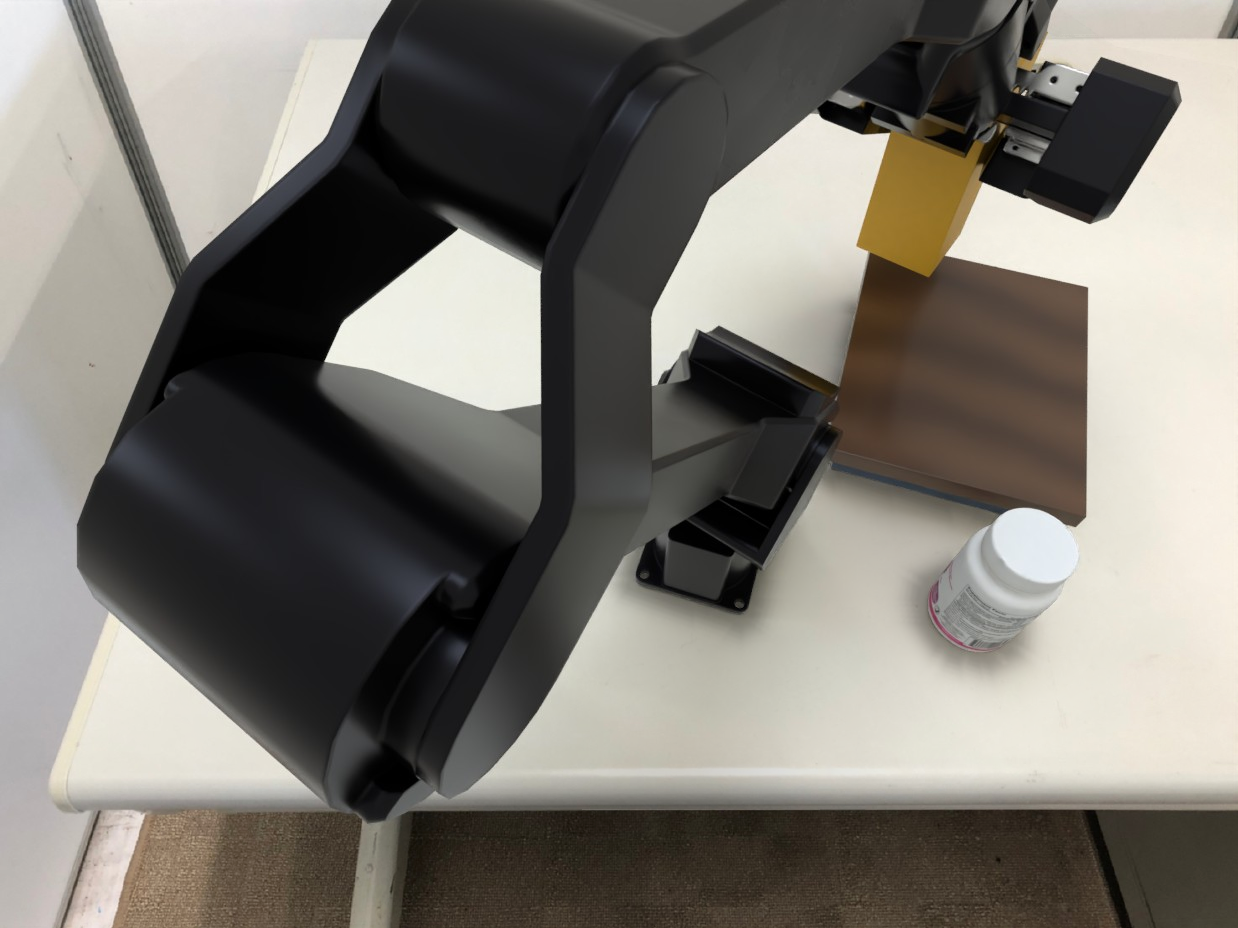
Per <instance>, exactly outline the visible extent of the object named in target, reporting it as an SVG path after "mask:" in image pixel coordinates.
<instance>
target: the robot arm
mask: <svg viewBox="0 0 1238 928" xmlns="http://www.w3.org/2000/svg"><path fill="white" fill-rule="evenodd" d="M1058 1H1059V0H390V1H389V3H388V5H387V6H386V7H385V9H384V11H383V12H382V14H381V16H380V17H379V19H378V21H377V22H376V23H375V25H374V27H373V29H372V30H371V31H370V34H369V36H368V38H367V40H366V43H365V45H364V47H363V50H362V52H361V55H360V57H359V59H358V62H357V64H356V67H355V69H354V71H353V73H352V76H351V78H350V81H349V83H348V85H347V87H346V90H345V92H344V94H343V96H342V99H341V101H340V103H339V106H338V107H337V111H336V113H335V115H334V117H333V120H332V122H331V125H330V127H329V129H328V131H327V134H326V135H325V137H324V138H323V139H322V141H321V142H319V143H318V145H316V146H315V147H314V148H312V150H311V151H310V152H309V153H308V154H306V155H305V156H304V157H303V158H302V159H301V160H299V162H297V163H296V164H295V165H294V166H293V167H291V169H290V170H289V171H288V172H286V173H285V174H284V175H283V176H282V177H281V178H280V179H278V181H276V182H275V183H274V184H273V185H272V186H271V187H270V188H268V189H267V191H265V192H264V193H263V194H262V195H260V197H258V198H257V199H256V200H255V201H254V202H253V203H252V204H251V205H250V206H249V207H248V208H246V209H245V210H244V211H243V212H242V213H241V214H239V216H237V217H236V218H235V219H234V220H233V221H232V222H231V223H230V224H228V226H227V227H225V229H223V230H222V231H221V232H220V233H219V234H218V235H216V237H214V238H213V239H212V240H211V241H210V242H209V243H208V244H207V245H206V246H205V247H203V248H202V249H201V250H200V251H199V252H198V253H197V254H195V255H194V256H193V257H192V258H191V260H190V262H189V263H188V265H187V266H186V267H185V269H184V270H183V272H182V273H181V274H180V276H179V279H178V281H177V284H176V287H175V289H174V290H173V291H174V292H173V293H172V296H171V299H170V301H169V303H168V306H167V309H166V310H165V313H164V315H163V319H162V321H161V323H160V324H159V328H158V330H157V333H156V335H155V338H154V340H153V342H152V345H151V347H150V349H149V352H148V355H147V357H146V360H145V362H144V365H143V367H142V369H141V371H140V374H139V377H138V379H137V382H136V383H135V386H134V388H133V392H132V394H131V396H130V399H129V401H128V404H127V406H126V409H125V410H124V413H123V416H122V418H121V421H120V422H119V425H118V428H117V430H116V433H115V436H114V438H113V440H112V442H111V445H110V447H109V450H108V452H107V455H106V457H105V460H104V463H103V465H102V466H101V467H100V469H99V470H98V471H97V473H96V474H95V476H94V477H93V480H92V483H91V485H90V489H89V491H88V494H87V497H86V499H85V502H84V505H83V507H82V510H81V512H80V514H79V518H78V520H77V523H76V568H77V570H78V572H79V574H80V575H81V577H82V580H83V581H84V582H85V585H86V587H87V588H88V590H89V592H90V593H91V596H92V598H93V599H94V600H95V601H97V602H98V603H99V604H100V605H101V606H102V607H103V608H105V609H106V610H107V611H108V612H109V614H111V615H112V616H114V618H116V619H117V620H118V621H119V622H120V623H121V624H122V625H124V626H125V627H126V628H127V629H128V630H129V631H130V632H132V633H133V634H134V635H135V636H136V637H137V638H138V639H139V640H141V642H143V643H144V644H145V645H146V646H147V647H148V648H150V649H151V650H152V651H153V652H154V653H155V654H156V655H157V656H159V657H160V658H161V660H163V661H164V662H165V663H166V664H168V665H169V666H170V667H171V668H172V669H173V670H175V672H176V673H178V674H179V675H180V676H181V677H182V678H183V679H184V680H186V682H188V683H189V684H190V685H191V686H192V687H194V689H196V690H197V691H198V692H199V693H200V694H201V695H202V696H203V697H204V698H205V699H207V700H208V701H209V702H211V704H213V705H214V706H215V707H216V708H217V709H218V710H220V711H221V713H223V714H224V715H225V716H226V717H227V718H228V719H230V720H231V721H232V722H233V723H234V724H235V725H236V726H237V727H239V728H240V729H241V730H242V731H243V732H244V733H245V734H246V735H248V736H249V737H250V738H251V739H252V740H253V741H254V742H256V743H257V744H258V745H259V746H260V747H261V748H262V749H264V750H265V751H266V753H268V754H269V755H270V756H271V757H273V758H274V759H275V761H277V762H278V763H279V764H280V765H281V766H283V767H284V768H285V769H286V770H287V771H288V772H289V773H290V774H291V775H293V776H294V777H295V778H296V779H297V781H300V783H302V784H303V785H304V787H306V788H307V789H309V790H310V791H311V792H312V793H313V794H314V795H315V796H316V797H317V798H318V799H320V800H321V801H322V802H323V803H324V804H326V806H327V807H329V808H330V809H333V810H335V811H338V812H342V813H344V814H347V815H353V814H355V815H356V816H357V817H359V818H360V819H361V820H362V821H364V823H366V824H367V825H375V824H379V823H384V822H385V823H386V822H388V821H390V820H393V819H395V818H398V817H399V816H402V815H405V814H406V813H407V812H409V811H410V810H412V809H413V808H415V807H417V806H418V805H419V804H421V803H422V802H423V801H426V800H427V799H428V798H429V797H430V796H431V795H433V794H434V792H436V793H437V794H438V795H440V796H442V797H443V798H445V799H447V800H450V799H452V798H455V797H457V796H459V795H461V794H463V793H465V792H467V791H468V790H469V789H471V788H472V787H473V786H474V785H475V784H476V783H477V782H479V781H480V780H481V779H482V778H483V777H484V776H485V775H487V774H488V773H489V772H490V771H492V769H493V768H494V767H495V766H496V765H497V764H498V762H499V761H500V760H501V759H502V758H503V757H504V755H505V754H506V753H507V752H508V751H509V750H510V749H511V748H512V747H513V745H514V744H515V743H516V742H517V741H518V740H519V737H521V735H522V733H523V732H524V731H525V729H526V728H527V726H528V725H529V724H530V723H531V721H532V720H533V719H534V717H535V716H536V715H537V713H538V712H539V710H540V708H541V707H542V705H543V704H544V702H545V700H546V698H547V697H548V696H549V694H550V692H551V691H552V689H553V687H554V685H555V684H556V682H557V681H558V679H559V677H560V675H561V674H562V671H563V669H564V668H565V666H566V664H567V662H568V661H569V659H570V656H571V654H573V652H574V650H575V648H576V645H577V644H578V642H579V640H580V638H581V637H582V634H583V633H584V631H585V630H586V628H587V625H588V624H589V622H590V620H591V618H592V616H593V614H594V613H595V611H596V609H597V608H598V605H599V604H600V601H601V600H602V598H603V596H604V594H605V593H606V591H607V589H608V587H609V585H610V583H611V582H612V579H613V577H614V576H615V574H616V572H617V570H618V568H619V566H620V565H621V563H622V561H623V559H624V558H625V557H626V556H628V555H629V554H631V553H633V552H634V551H636V550H637V549H639V548H641V547H643V546H644V547H643V549H642V553H641V556H640V559H639V561H638V563H637V567H636V570H635V575H634V576H635V577H634V578H635V581H636V582H637V584H639V585H640V586H643V587H647V588H650V589H653V590H656V591H659V592H662V593H666V594H670V595H673V596H675V597H679V598H683V599H686V600H689V601H692V602H696V603H699V604H702V605H705V606H709V607H712V608H714V609H718V610H722V611H725V612H728V613H731V614H735V615H744V614H745V613H747V610H748V609H749V606H750V602H751V598H752V594H753V590H754V586H755V583H756V578H757V574H758V571H761V572H765V570H766V569H767V567H768V566H769V565H770V563H771V561H772V560H773V559H774V557H775V555H776V554H777V553H778V551H779V549H780V548H781V546H782V545H783V544H784V542H785V541H786V539H787V538H788V536H789V535H790V533H791V532H792V530H793V528H794V527H795V526H796V525H797V522H798V521H799V520H800V519H801V517H802V515H803V514H804V513H805V510H806V509H807V508H808V506H809V505H810V502H811V501H812V498H813V496H814V494H815V492H816V490H817V488H818V486H819V484H820V482H821V480H822V479H823V476H824V474H825V472H826V470H827V469H828V467H829V464H831V462H830V461H831V459H832V457H833V455H834V453H835V451H836V449H837V447H838V445H839V443H840V440H841V438H842V435H843V431H842V430H840V429H838V428H837V427H835V426H832V425H830V424H829V422H832V421H834V419H835V418H836V416H837V415H838V413H839V411H840V406H839V403H838V401H836V400H835V398H836V397H837V395H838V393H839V392H840V390H841V387H839V386H838V384H835V383H833V382H831V381H829V380H828V379H825V378H823V377H821V376H819V375H817V374H816V373H814V372H811V371H810V370H807V369H805V368H804V367H801V366H800V365H797V364H796V363H794V362H792V361H790V360H788V359H786V358H784V357H782V356H780V355H778V354H776V353H774V352H772V351H770V350H768V349H766V348H764V347H763V346H760V345H758V344H756V343H755V342H753V341H750V340H748V339H747V338H745V337H743V336H742V335H741V336H740V335H739V334H737V333H735V332H733V331H731V330H730V329H727V328H726V327H723V326H721V325H717V326H716V327H714V328H713V329H712V330H709V331H707V332H705V331H702V330H701V329H699V328H695V330H694V332H693V335H692V338H691V341H690V342H689V346H688V348H687V349H684V350H682V351H681V352H680V353H679V355H678V358H677V359H676V360H675V362H674V363H673V364H672V365H671V367H670V368H669V369H666V370H664V371H663V372H662V374H661V375H660V378H659V379H658V382H657V384H654V385H653V365H652V364H653V363H652V362H653V360H652V359H653V358H652V357H653V356H652V353H653V351H652V350H653V348H652V347H653V345H652V344H653V343H652V339H653V338H652V317H653V314H654V310H655V308H656V306H657V304H658V302H659V300H660V298H661V296H662V294H663V293H664V291H665V289H666V288H667V285H668V283H669V281H670V279H671V278H672V275H673V273H674V271H675V269H676V268H677V265H678V264H679V262H680V260H681V258H682V257H683V254H684V252H685V251H686V248H687V246H688V245H689V243H690V240H691V239H692V238H693V234H695V231H696V229H697V227H698V226H699V223H700V221H701V218H702V216H703V213H704V212H705V209H706V207H707V205H708V203H709V200H710V199H711V197H712V196H713V195H715V193H717V192H718V191H719V190H721V189H722V188H723V187H724V186H725V185H726V184H727V183H729V182H730V181H731V180H733V178H735V177H736V176H737V175H739V174H740V173H741V172H742V171H743V170H745V169H746V168H747V167H748V166H749V165H751V164H752V163H753V162H754V161H755V160H757V159H758V158H759V157H760V156H761V155H763V154H764V153H765V152H766V151H768V149H770V148H772V146H774V145H775V144H776V143H777V142H778V141H779V140H780V139H782V138H784V136H785V135H786V134H788V133H789V132H790V131H791V130H793V129H794V128H795V127H796V126H797V125H799V124H800V123H801V122H802V121H804V120H805V119H806V118H807V117H808V116H810V115H819V117H820V118H821V119H822V120H823V121H826V122H829V123H831V124H834V125H836V126H838V127H841V128H844V129H847V130H849V131H851V132H854V133H856V134H859V135H861V136H867V135H869V136H870V135H882V134H890V132H891V130H893V131H895V132H898V133H900V134H903V135H906V136H908V137H911V138H913V139H916V140H918V141H921V142H924V143H926V144H929V145H931V146H934V147H936V148H939V149H942V150H944V151H947V152H949V153H952V154H954V155H957V156H960V157H962V158H966V156H967V154H968V152H969V151H970V149H971V147H972V145H973V143H974V142H975V141H976V142H979V143H982V144H987V143H989V142H990V141H991V140H992V138H993V136H994V134H995V133H996V130H997V124H998V123H997V122H999V123H1002V124H1005V127H1004V128H1003V130H1002V131H1001V133H1000V135H999V137H998V138H997V140H996V142H995V144H994V146H993V147H992V149H991V151H990V153H989V154H988V156H987V158H986V160H985V162H984V163H983V166H982V170H981V173H980V177H979V181H980V182H982V184H985V185H988V186H989V187H993V188H996V189H997V190H1001V191H1002V192H1005V193H1008V194H1009V195H1010V194H1011V195H1014V196H1015V197H1017V198H1020V199H1024V200H1031V201H1033V202H1034V203H1036V204H1037V205H1039V206H1042V207H1045V208H1047V209H1050V210H1052V211H1054V212H1057V213H1060V214H1063V215H1064V216H1067V217H1070V218H1072V219H1075V220H1077V221H1080V222H1083V223H1085V224H1088V225H1092V224H1096V223H1098V222H1101V221H1104V220H1107V219H1110V217H1111V216H1112V215H1113V213H1114V212H1115V211H1116V209H1117V208H1118V207H1119V205H1120V203H1121V202H1122V200H1123V198H1124V197H1125V195H1126V194H1127V192H1128V190H1129V189H1130V188H1131V186H1132V184H1133V183H1134V181H1135V179H1136V178H1137V176H1138V174H1139V173H1140V171H1141V169H1142V168H1143V166H1144V165H1145V163H1146V161H1147V160H1148V158H1149V156H1150V155H1151V153H1152V152H1153V150H1154V148H1155V147H1156V146H1157V143H1158V142H1159V140H1160V139H1161V137H1162V135H1163V134H1164V132H1165V131H1166V129H1167V127H1168V125H1169V124H1170V123H1171V121H1172V119H1173V118H1174V116H1175V114H1176V112H1177V111H1178V109H1179V107H1180V106H1181V104H1182V102H1183V99H1182V94H1181V90H1180V86H1179V82H1178V81H1176V80H1173V79H1171V78H1167V77H1164V76H1161V75H1159V74H1155V73H1152V72H1149V71H1147V70H1142V69H1139V68H1137V67H1134V66H1131V65H1127V64H1124V63H1122V62H1118V61H1115V60H1113V59H1110V58H1106V57H1104V56H1100V58H1099V59H1098V61H1097V62H1096V64H1095V65H1094V66H1093V68H1092V70H1091V71H1090V73H1089V72H1086V71H1083V70H1080V69H1078V68H1073V67H1070V66H1068V65H1065V64H1061V63H1054V62H1052V61H1048V60H1045V61H1043V63H1042V65H1041V67H1040V68H1039V70H1038V72H1034V71H1032V70H1031V71H1028V70H1025V69H1022V68H1020V67H1018V62H1019V60H1020V58H1023V59H1026V60H1029V61H1031V60H1032V59H1033V57H1034V55H1035V54H1036V52H1037V50H1038V48H1039V46H1040V45H1041V43H1042V41H1043V39H1044V37H1045V36H1046V33H1047V31H1048V28H1049V24H1050V22H1051V21H1050V20H1051V16H1052V13H1053V10H1054V9H1055V7H1056V5H1057V3H1058ZM1046 37H1047V36H1046ZM1017 87H1018V88H1019V92H1018V93H1015V92H1013V91H1014V90H1015V89H1016V88H1017ZM1024 92H1025V94H1023V93H1024ZM994 121H996V122H995V123H994V124H993V125H992V126H991V127H989V126H990V125H991V124H992V123H993V122H994ZM458 230H461V231H463V232H465V233H466V234H468V235H471V236H473V237H474V238H476V239H478V240H480V241H482V242H484V243H486V244H487V245H489V246H492V247H493V248H495V249H497V250H499V251H500V252H503V253H505V254H506V255H508V256H510V257H512V258H514V259H516V260H518V261H519V262H522V263H524V264H525V265H528V267H531V268H533V269H535V270H536V271H538V272H540V274H539V275H540V277H539V280H540V282H539V283H540V284H539V286H540V287H539V288H540V289H539V290H540V291H539V292H540V293H539V294H540V296H539V298H540V299H539V300H540V301H539V302H540V314H539V315H540V403H538V404H537V403H536V404H531V405H525V406H520V407H519V406H518V407H514V408H507V409H500V410H493V409H486V408H482V407H480V406H477V405H474V404H471V403H469V402H465V401H462V400H460V399H457V398H454V397H451V396H448V395H445V394H443V393H439V392H437V391H435V390H432V389H428V388H426V387H423V386H420V385H417V384H414V383H411V382H408V381H406V380H402V379H400V378H397V377H394V376H391V375H388V374H386V373H382V372H379V371H376V370H373V369H369V368H363V367H359V366H358V367H357V366H351V365H346V364H339V363H334V362H329V361H326V359H327V357H328V355H329V354H330V351H331V348H332V346H333V344H334V342H335V340H336V337H337V335H338V333H339V330H340V328H341V326H342V325H343V323H344V322H345V321H346V320H347V319H348V318H349V317H350V316H351V315H354V314H355V312H357V311H358V310H359V309H360V308H362V307H363V306H364V305H365V304H367V303H368V302H370V301H371V300H372V299H373V298H374V297H375V296H377V295H378V294H379V293H380V292H382V291H383V290H384V289H386V288H387V287H388V286H389V285H391V284H392V283H393V282H394V281H395V280H397V279H398V278H400V277H401V276H402V275H403V274H404V273H406V272H407V271H408V270H409V269H410V268H412V267H414V265H416V264H417V263H418V262H420V261H421V260H423V258H424V257H426V256H427V255H428V254H429V253H431V252H432V251H433V250H434V249H437V247H439V245H441V244H442V243H444V242H445V241H446V240H447V239H448V238H449V237H451V236H452V235H453V234H454V233H456V232H457V231H458ZM642 574H646V575H647V577H642V576H641V575H642ZM736 603H741V604H742V606H741V607H738V606H737V605H736Z"/></svg>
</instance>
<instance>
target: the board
mask: <svg viewBox="0 0 1238 928" xmlns="http://www.w3.org/2000/svg"><path fill="white" fill-rule="evenodd" d="M865 259H866V260H865V264H864V268H863V271H862V272H863V273H862V276H861V281H860V285H859V290H858V294H857V298H856V303H855V307H854V311H853V317H852V320H851V321H852V322H851V325H850V330H849V334H848V339H847V342H846V346H845V352H844V356H843V360H842V365H841V369H840V373H839V378H838V381H837V386H839V387H841V390H840V392H839V393H838V395H837V397H836V398H835V400H836V401H838V403H839V406H840V411H839V413H838V415H837V416H836V418H835V419H834V421H832V422H829V423H828V424H830V425H832V426H835V427H837V428H838V429H840V430H842V431H843V435H842V438H841V440H840V443H839V445H838V447H837V449H836V451H835V453H834V455H833V457H832V459H831V461H830V469H831V470H835V471H837V472H842V473H845V474H850V475H853V476H857V477H861V478H864V479H867V480H871V481H875V482H879V483H882V484H886V485H891V486H894V487H898V488H901V489H905V490H909V491H912V492H916V493H919V494H922V495H927V496H931V497H934V498H937V499H938V498H939V499H941V500H946V501H949V502H953V503H957V504H960V505H964V506H968V507H970V508H971V507H972V508H975V509H979V510H983V511H986V512H991V513H994V514H998V515H1002V514H1003V513H1005V512H1007V511H1009V510H1012V509H1016V508H1032V509H1037V510H1041V511H1044V512H1046V513H1048V514H1050V515H1052V516H1054V517H1055V518H1057V519H1058V520H1059V521H1061V522H1062V523H1063V524H1064V525H1065V526H1068V527H1072V528H1077V527H1078V526H1079V525H1080V524H1081V523H1082V522H1083V521H1084V520H1085V519H1086V518H1087V500H1088V498H1087V497H1088V494H1087V492H1088V491H1087V487H1088V486H1087V485H1088V483H1087V482H1088V480H1087V479H1088V379H1089V377H1088V375H1089V373H1088V372H1089V371H1088V369H1089V366H1088V361H1089V357H1088V356H1089V287H1088V286H1085V285H1080V284H1076V283H1071V282H1066V281H1062V280H1058V279H1052V278H1049V277H1043V276H1039V275H1036V274H1030V273H1026V272H1021V271H1017V270H1012V269H1007V268H1004V267H1000V266H999V267H998V266H994V265H990V264H985V263H981V262H976V261H972V260H966V259H963V258H958V257H955V256H954V257H953V256H948V255H945V256H944V257H943V259H942V260H941V261H940V263H939V264H938V266H937V267H936V268H935V270H934V271H933V272H932V274H931V275H930V277H927V276H924V275H922V274H920V273H917V272H915V271H913V270H910V269H908V268H906V267H903V266H901V265H899V264H896V263H894V262H892V261H889V260H887V259H884V258H882V257H880V256H877V255H875V254H873V253H870V252H868V251H867V254H866V258H865Z"/></svg>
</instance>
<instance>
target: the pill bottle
mask: <svg viewBox="0 0 1238 928" xmlns="http://www.w3.org/2000/svg"><path fill="white" fill-rule="evenodd" d="M1079 563H1080V547H1079V544H1078V542H1077V540H1076V537H1075V536H1074V535H1073V533H1072V531H1071V530H1070V529H1069V528H1068V527H1067V525H1065V524H1063V523H1062V522H1061V521H1059V520H1058V519H1057V518H1055V517H1054V516H1052V515H1050V514H1048V513H1046V512H1044V511H1041V510H1037V509H1032V508H1016V509H1012V510H1009V511H1007V512H1005V513H1003V514H1002V515H1001V514H999V516H998V517H997V518H996V519H995V520H994V521H993V523H991V524H989V525H986V526H984V527H982V528H980V529H978V530H977V531H976V532H975V533H974V534H972V536H971V537H970V538H969V539H968V540H967V541H966V543H965V544H964V545H963V547H961V549H960V550H959V551H958V553H957V554H956V555H955V556H954V557H953V559H952V560H951V562H950V563H949V564H948V565H947V567H946V568H945V569H944V570H943V571H942V572H941V574H940V576H938V577H937V579H936V580H935V581H934V582H933V584H932V586H931V588H930V590H929V593H928V596H927V611H928V614H929V617H930V620H931V622H932V623H933V624H932V625H934V627H935V628H936V630H937V631H938V633H940V634H941V636H943V637H944V638H945V639H946V640H947V641H949V642H950V643H951V644H952V645H954V646H956V647H958V648H960V649H962V650H965V651H969V652H972V653H988V652H993V651H995V650H999V649H1000V648H1002V647H1003V646H1005V645H1006V644H1008V643H1009V642H1010V641H1011V640H1012V639H1013V638H1014V637H1015V636H1016V635H1017V636H1018V634H1019V633H1020V632H1021V631H1023V630H1024V629H1025V628H1026V627H1027V626H1029V625H1030V624H1031V623H1032V622H1033V621H1034V620H1036V618H1038V617H1039V616H1041V614H1043V613H1044V612H1045V611H1047V610H1048V609H1049V608H1050V607H1051V606H1052V605H1053V604H1054V603H1055V602H1056V601H1057V600H1058V598H1060V596H1061V595H1062V592H1063V590H1064V586H1065V582H1066V581H1067V580H1069V578H1070V577H1072V575H1073V574H1074V573H1075V571H1076V570H1077V568H1078V566H1079Z"/></svg>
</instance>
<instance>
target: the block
mask: <svg viewBox="0 0 1238 928" xmlns="http://www.w3.org/2000/svg"><path fill="white" fill-rule="evenodd" d="M1048 33H1049V31H1048V30H1047V33H1046V36H1045V37H1044V39H1043V41H1042V43H1041V45H1040V46H1039V48H1038V50H1037V52H1036V54H1035V55H1034V57H1033V59H1032V60H1031V61H1029V60H1026V59H1023V58H1020V60H1019V62H1018V67H1020V68H1022V69H1025V70H1028V71H1031V72H1032V70H1033V68H1034V65H1035V64H1036V61H1037V59H1038V57H1039V54H1040V51H1041V50H1042V48H1043V46H1044V43H1045V40H1046V38H1047V36H1048ZM1013 92H1015V93H1018V92H1019V88H1018V87H1017V88H1016V89H1015V90H1014V91H1013ZM995 122H996V121H994V122H993V123H992V124H991V125H990V126H989V127H991V126H992V125H993V124H994V123H995ZM997 123H998V124H997V130H996V133H995V134H994V136H993V138H992V140H991V141H990V142H989V143H987V144H982V143H979V142H976V141H975V142H974V143H973V145H972V147H971V149H970V151H969V152H968V154H967V156H966V158H962V157H960V156H957V155H954V154H952V153H949V152H947V151H944V150H942V149H939V148H936V147H934V146H931V145H929V144H926V143H924V142H921V141H918V140H916V139H913V138H911V137H908V136H906V135H903V134H900V133H898V132H895V131H893V130H891V132H890V133H889V134H888V135H889V136H888V139H887V142H886V145H885V149H884V151H883V154H882V159H881V162H880V165H879V168H878V172H877V176H876V180H875V182H874V185H873V188H872V191H871V195H870V199H869V200H868V205H867V208H866V212H865V214H864V218H863V221H862V225H861V228H860V232H859V234H858V239H857V241H856V245H855V246H856V247H857V248H859V249H862V250H864V251H866V252H867V253H868V252H870V253H873V254H875V255H877V256H880V257H882V258H884V259H887V260H889V261H892V262H894V263H896V264H899V265H901V266H903V267H906V268H908V269H910V270H913V271H915V272H917V273H920V274H922V275H924V276H927V277H930V275H931V274H932V272H933V271H934V270H935V268H936V267H937V266H938V264H939V263H940V261H941V260H942V259H943V257H944V256H947V253H948V252H949V250H950V249H951V248H952V246H953V245H954V244H955V242H956V241H957V239H958V238H959V237H960V235H961V233H962V231H963V229H964V228H965V225H966V222H967V220H968V218H969V215H970V214H971V211H972V209H973V206H974V203H975V202H976V199H977V197H978V195H979V193H980V191H981V188H982V185H983V183H982V182H980V181H979V177H980V173H981V170H982V166H983V163H984V162H985V160H986V158H987V156H988V154H989V153H990V151H991V149H992V147H993V146H994V144H995V142H996V140H997V138H998V137H999V135H1000V133H1001V131H1002V130H1003V128H1004V127H1005V124H1002V123H999V122H997Z"/></svg>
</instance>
